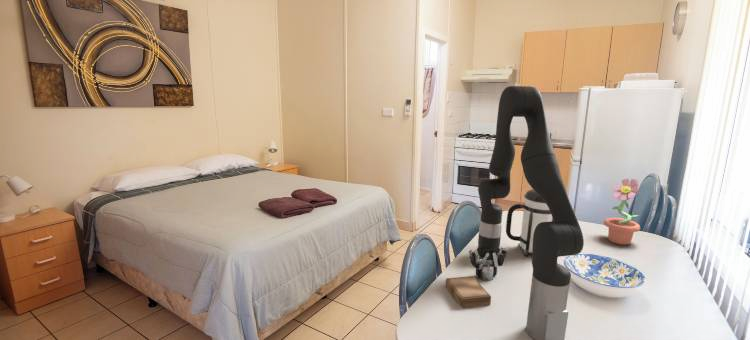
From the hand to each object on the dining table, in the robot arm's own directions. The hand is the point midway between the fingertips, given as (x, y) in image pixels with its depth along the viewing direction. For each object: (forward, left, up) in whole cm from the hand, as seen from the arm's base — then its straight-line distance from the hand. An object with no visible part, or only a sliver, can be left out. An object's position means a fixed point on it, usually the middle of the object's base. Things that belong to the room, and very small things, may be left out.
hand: (485, 276), depth 132 cm
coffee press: (+17, -30, -1) cm, 34 cm away
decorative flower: (+22, -78, -1) cm, 81 cm away
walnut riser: (-10, +12, 0) cm, 16 cm away
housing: (0, 0, 0) cm, 0 cm away
